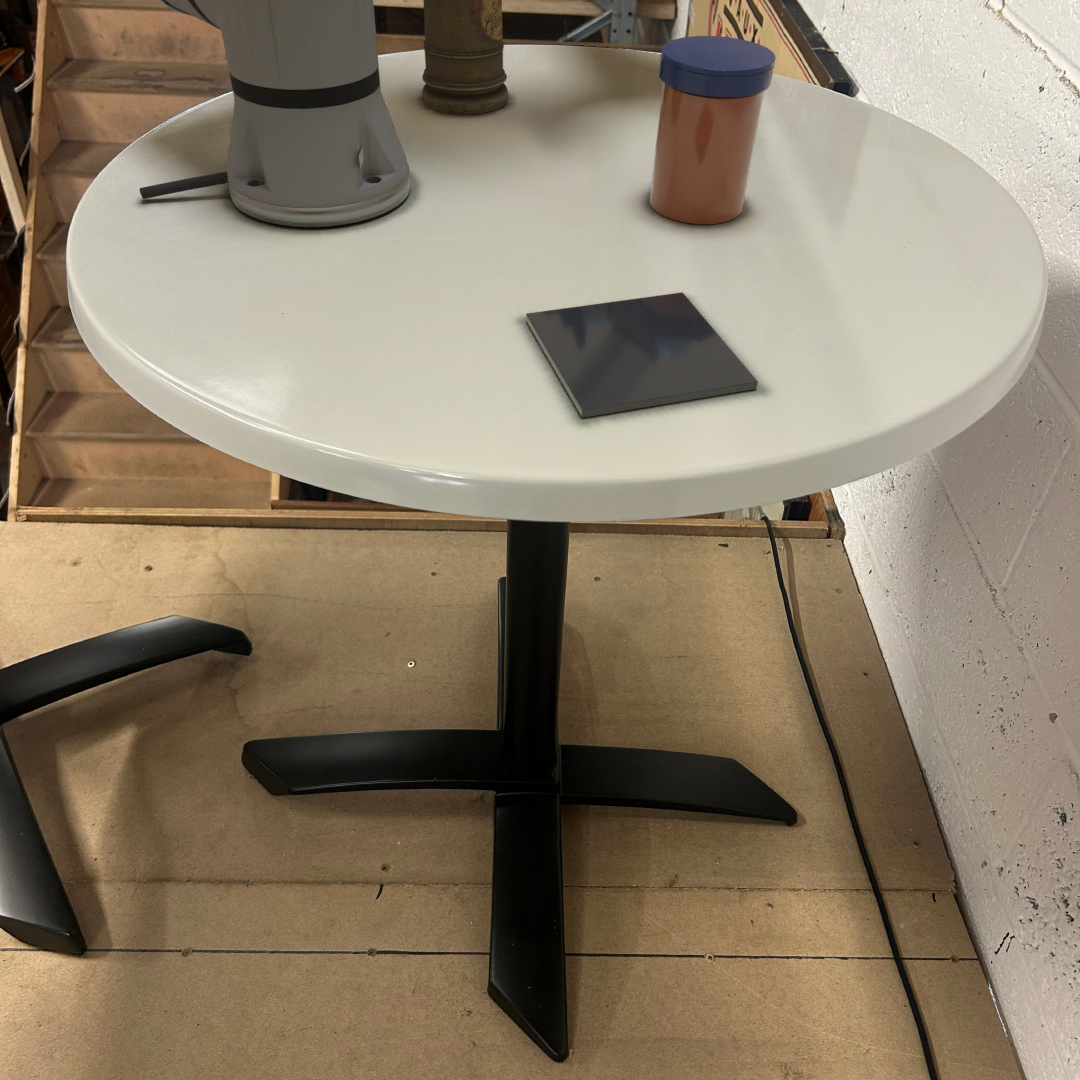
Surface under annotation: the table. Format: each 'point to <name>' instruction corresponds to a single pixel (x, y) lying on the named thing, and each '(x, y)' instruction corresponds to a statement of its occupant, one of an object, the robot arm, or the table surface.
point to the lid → (716, 66)
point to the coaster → (637, 354)
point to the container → (464, 56)
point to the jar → (703, 155)
